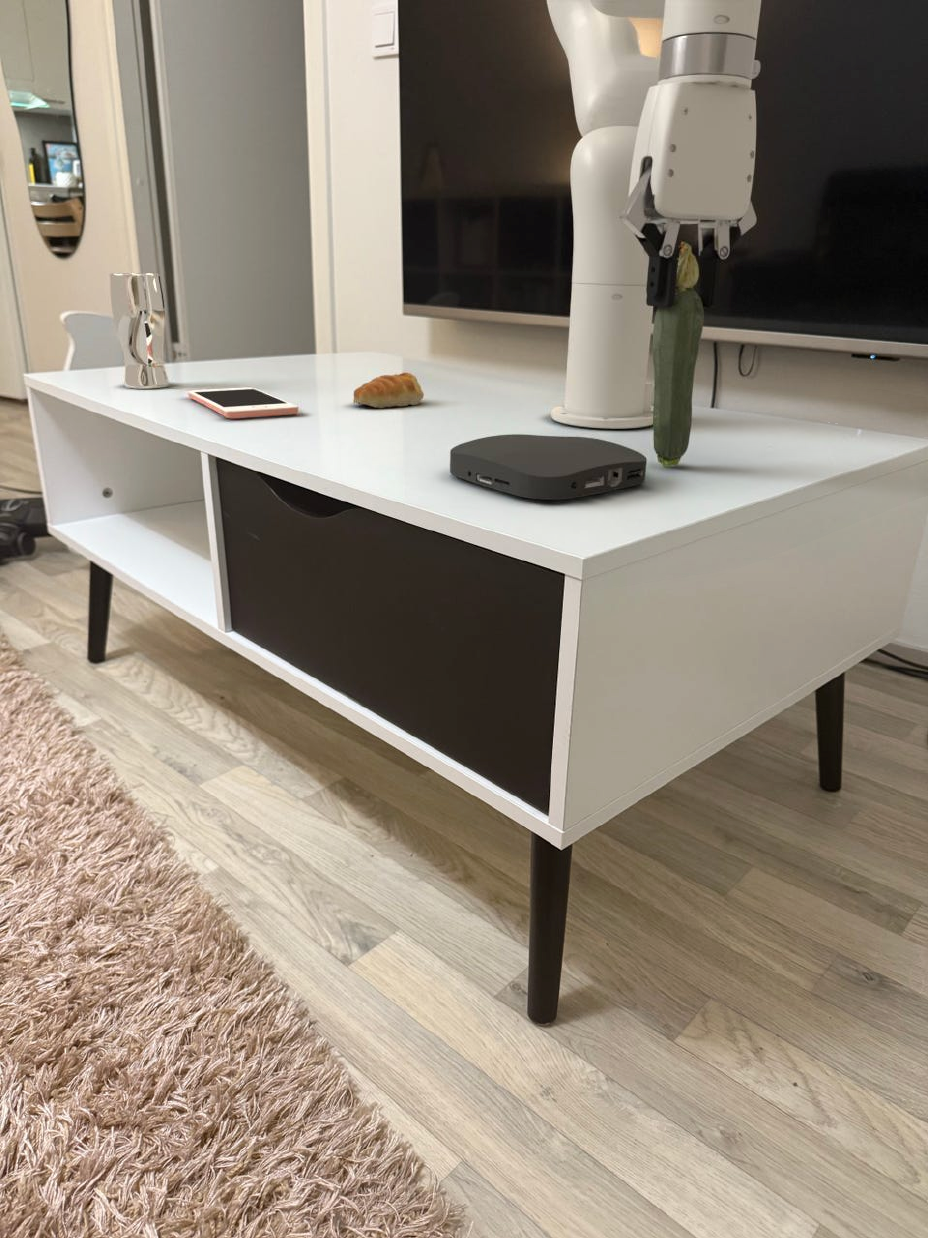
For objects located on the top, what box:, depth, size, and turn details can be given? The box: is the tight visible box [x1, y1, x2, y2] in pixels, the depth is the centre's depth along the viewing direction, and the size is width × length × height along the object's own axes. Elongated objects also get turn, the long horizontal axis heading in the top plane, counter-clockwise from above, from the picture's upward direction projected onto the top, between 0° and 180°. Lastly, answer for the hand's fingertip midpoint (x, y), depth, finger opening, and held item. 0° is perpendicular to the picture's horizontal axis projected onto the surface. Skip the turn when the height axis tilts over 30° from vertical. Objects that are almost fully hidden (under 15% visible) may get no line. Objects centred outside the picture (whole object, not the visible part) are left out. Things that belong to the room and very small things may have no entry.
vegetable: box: [652, 241, 705, 468], centre depth 83 cm, size 4×4×20 cm
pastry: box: [352, 372, 425, 409], centre depth 117 cm, size 9×7×4 cm
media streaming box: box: [449, 433, 648, 501], centre depth 80 cm, size 15×15×3 cm
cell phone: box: [187, 386, 299, 419], centre depth 114 cm, size 9×18×1 cm, turn 30°
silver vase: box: [109, 272, 170, 390], centre depth 126 cm, size 7×7×15 cm
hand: (680, 303), depth 81 cm, fingers closed on vegetable, 4 cm apart
